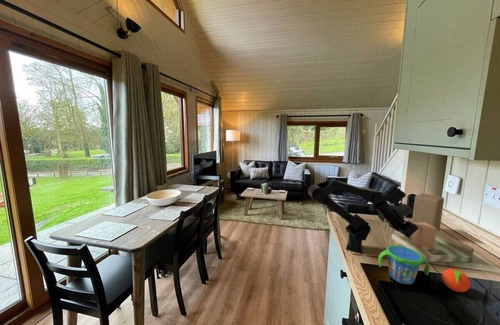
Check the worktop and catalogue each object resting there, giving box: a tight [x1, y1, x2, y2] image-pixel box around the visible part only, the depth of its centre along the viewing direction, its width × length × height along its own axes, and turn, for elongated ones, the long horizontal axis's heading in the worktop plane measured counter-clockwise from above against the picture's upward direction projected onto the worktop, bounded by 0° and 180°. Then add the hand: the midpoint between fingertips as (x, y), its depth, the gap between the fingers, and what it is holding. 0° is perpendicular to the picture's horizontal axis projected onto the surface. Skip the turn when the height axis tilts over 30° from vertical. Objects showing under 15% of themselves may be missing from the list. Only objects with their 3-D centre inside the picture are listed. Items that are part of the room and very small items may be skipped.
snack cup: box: [377, 245, 431, 286], centre depth 77 cm, size 16×10×10 cm
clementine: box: [441, 268, 471, 293], centre depth 72 cm, size 8×7×7 cm
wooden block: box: [411, 192, 445, 232], centre depth 114 cm, size 10×10×20 cm
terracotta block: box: [410, 223, 437, 247], centre depth 97 cm, size 6×6×9 cm
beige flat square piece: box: [391, 230, 475, 263], centre depth 98 cm, size 20×20×6 cm
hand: (407, 234), depth 97 cm, fingers closed
